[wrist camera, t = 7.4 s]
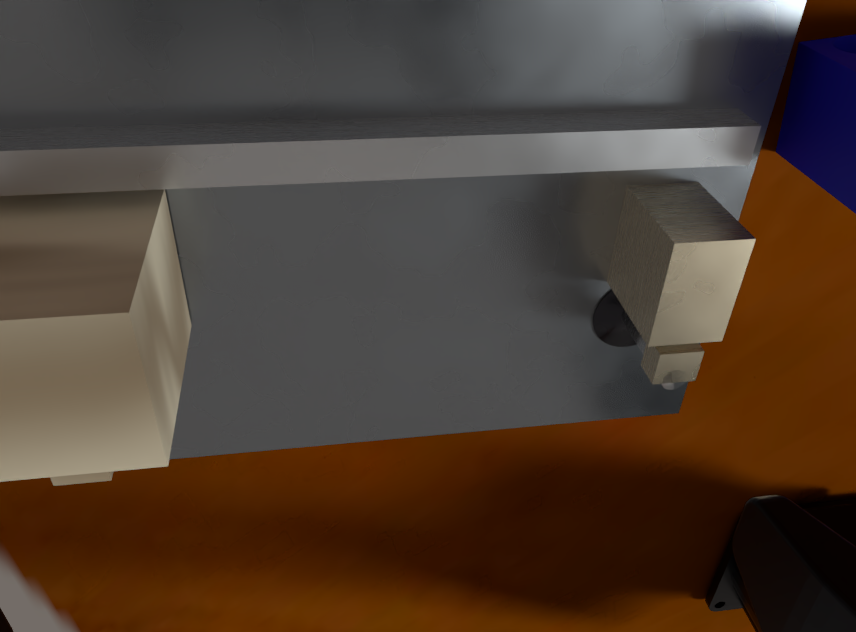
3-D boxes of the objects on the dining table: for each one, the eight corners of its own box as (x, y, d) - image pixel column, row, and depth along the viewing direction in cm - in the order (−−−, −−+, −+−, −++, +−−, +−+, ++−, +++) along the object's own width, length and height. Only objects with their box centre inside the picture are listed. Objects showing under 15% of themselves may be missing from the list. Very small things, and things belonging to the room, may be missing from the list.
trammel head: (197, 356, 20) (176, 499, 16) (42, 367, 20) (-19, 518, 16) (164, 188, 17) (128, 312, 13) (-20, 195, 17) (-115, 327, 13)
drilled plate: (666, 392, 26) (720, 481, 22) (51, 446, 23) (13, 556, 20) (796, -55, 17) (911, -15, 14) (-140, -59, 15) (-259, -11, 11)
